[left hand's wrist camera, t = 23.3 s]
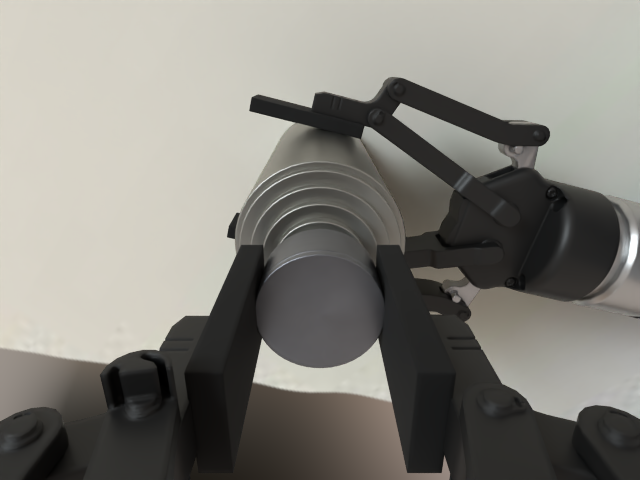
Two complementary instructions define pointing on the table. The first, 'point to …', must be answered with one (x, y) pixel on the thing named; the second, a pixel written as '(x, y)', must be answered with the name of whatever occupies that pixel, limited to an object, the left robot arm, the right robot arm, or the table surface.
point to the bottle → (319, 194)
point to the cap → (320, 299)
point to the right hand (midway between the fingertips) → (242, 166)
